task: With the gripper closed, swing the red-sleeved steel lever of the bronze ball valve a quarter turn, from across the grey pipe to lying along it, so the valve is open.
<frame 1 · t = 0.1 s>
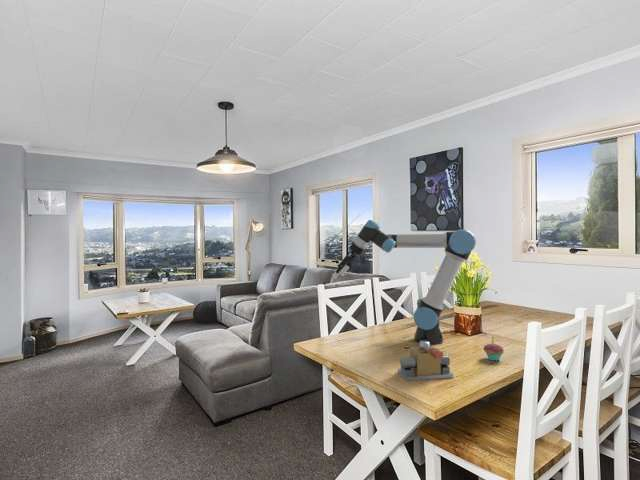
hand: (337, 276, 203), 36 cm above the table, tool tilted 35°, fingers open, 13 cm apart
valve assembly: (424, 374, 152), on the table
lever: (430, 349, 146), point 12 cm above the table, hinge at 90.0°
cupcake: (493, 359, 169), on the table
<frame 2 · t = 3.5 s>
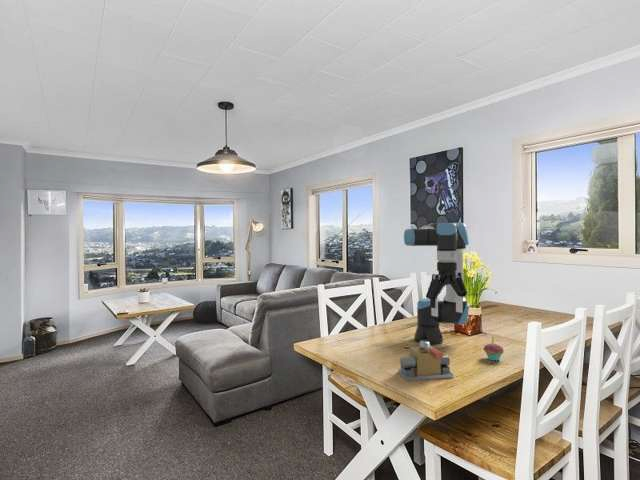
hand: (447, 314, 145), 27 cm above the table, tool pointing down, fingers open, 13 cm apart
nothing on the table moved.
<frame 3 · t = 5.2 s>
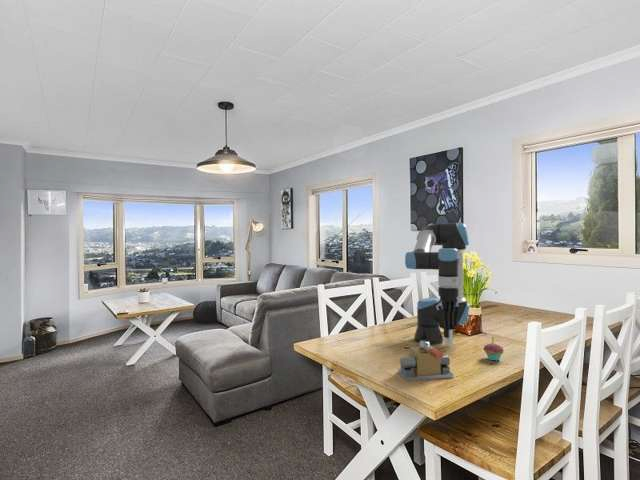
hand: (448, 345, 145), 14 cm above the table, tool pointing down, fingers closed
nothing on the table moved.
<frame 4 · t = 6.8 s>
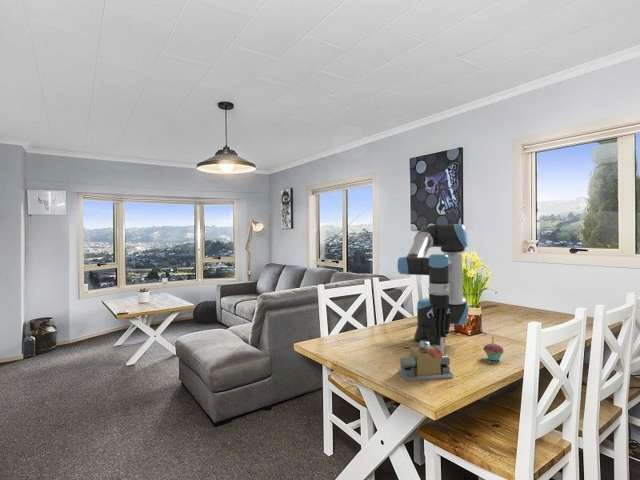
hand: (440, 352, 143), 12 cm above the table, tool pointing down, fingers closed
lever: (430, 349, 146), point 12 cm above the table, hinge at 88.4°, touching gripper
everything else where it was.
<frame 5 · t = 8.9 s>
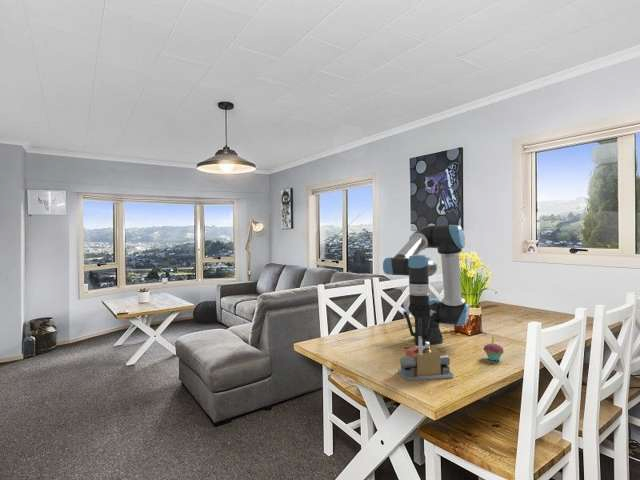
hand: (420, 353, 143), 12 cm above the table, tool pointing down, fingers closed
lever: (418, 349, 147), point 12 cm above the table, hinge at 40.6°, touching gripper
everything else where it was.
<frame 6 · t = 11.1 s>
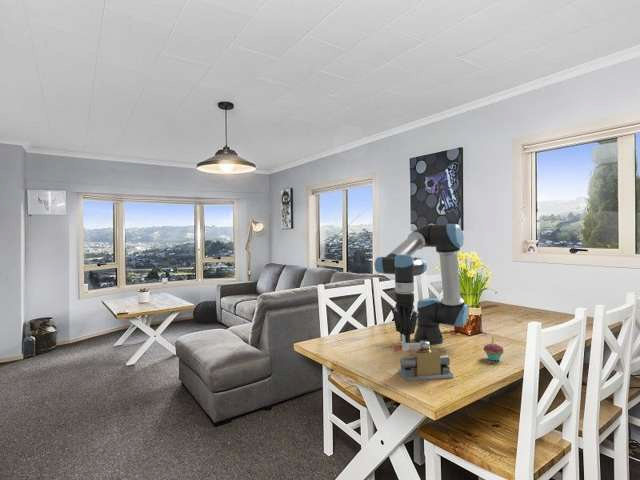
hand: (405, 350, 148), 12 cm above the table, tool pointing down, fingers closed
lever: (411, 346, 151), point 12 cm above the table, hinge at 0.3°, touching gripper
everything else where it was.
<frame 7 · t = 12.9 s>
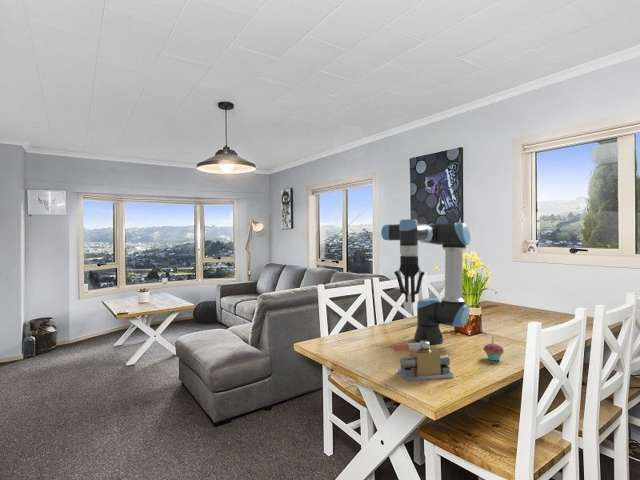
hand: (410, 309, 156), 27 cm above the table, tool pointing down, fingers closed
lever: (411, 346, 151), point 12 cm above the table, hinge at 0.3°
everything else where it was.
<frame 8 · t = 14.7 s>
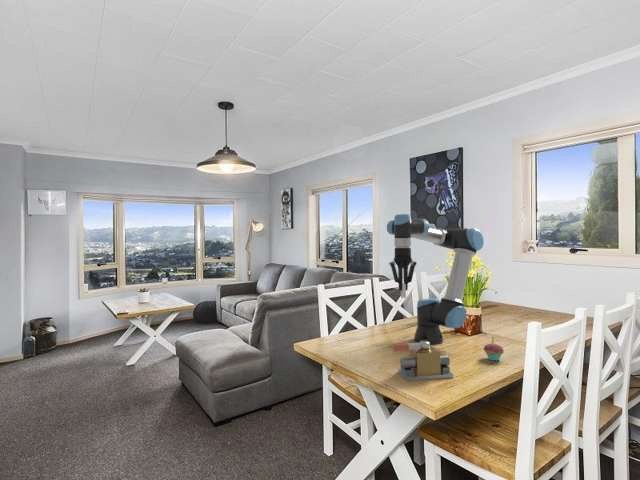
hand: (403, 297, 170), 29 cm above the table, tool pointing down, fingers closed
nothing on the table moved.
at the end: lever at +0° (first picture: +90°); lever touching nothing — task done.
